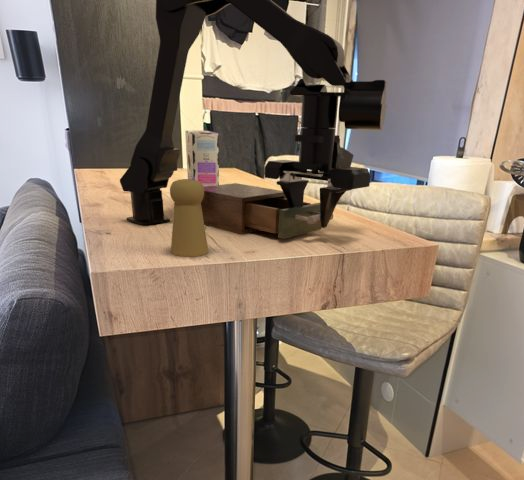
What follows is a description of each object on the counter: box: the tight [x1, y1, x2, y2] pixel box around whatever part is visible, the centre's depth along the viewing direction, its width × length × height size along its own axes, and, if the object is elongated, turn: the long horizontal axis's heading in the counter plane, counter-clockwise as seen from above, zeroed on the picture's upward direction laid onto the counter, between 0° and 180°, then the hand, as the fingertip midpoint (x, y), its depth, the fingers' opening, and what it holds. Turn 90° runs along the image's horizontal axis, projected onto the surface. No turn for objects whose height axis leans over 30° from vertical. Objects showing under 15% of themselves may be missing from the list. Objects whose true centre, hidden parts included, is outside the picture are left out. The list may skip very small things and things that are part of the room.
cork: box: [169, 178, 209, 258], centre depth 71 cm, size 6×6×11 cm
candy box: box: [184, 129, 220, 187], centre depth 104 cm, size 14×6×16 cm, turn 14°
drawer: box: [245, 197, 334, 240], centre depth 85 cm, size 18×11×5 cm, turn 47°
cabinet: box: [201, 182, 286, 235], centre depth 92 cm, size 15×13×7 cm
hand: (311, 224), depth 81 cm, fingers closed on drawer, 5 cm apart
